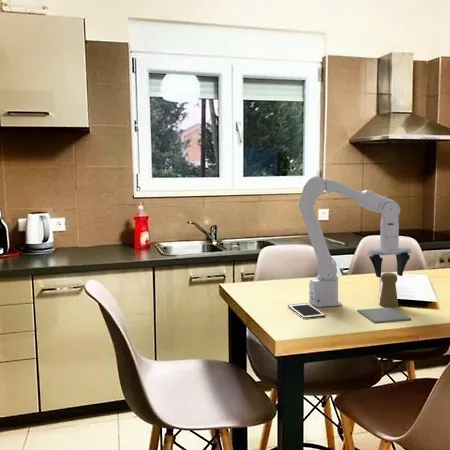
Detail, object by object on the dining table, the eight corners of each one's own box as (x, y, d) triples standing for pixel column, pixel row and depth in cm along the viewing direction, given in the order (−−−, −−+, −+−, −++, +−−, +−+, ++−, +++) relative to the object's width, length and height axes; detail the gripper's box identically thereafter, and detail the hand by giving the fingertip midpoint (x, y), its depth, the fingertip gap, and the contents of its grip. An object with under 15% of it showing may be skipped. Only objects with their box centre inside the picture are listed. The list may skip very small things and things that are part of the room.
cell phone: (308, 305, 164) (308, 302, 164) (326, 318, 150) (326, 315, 150) (287, 307, 163) (286, 304, 163) (303, 320, 148) (303, 317, 148)
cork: (383, 301, 165) (383, 270, 163) (400, 304, 161) (401, 272, 160) (376, 305, 160) (376, 273, 159) (394, 308, 156) (394, 276, 155)
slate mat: (373, 323, 143) (374, 321, 143) (357, 311, 155) (357, 309, 155) (411, 319, 145) (411, 318, 144) (391, 308, 156) (391, 307, 156)
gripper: (374, 238, 153) (374, 280, 154) (416, 236, 155) (415, 277, 156) (364, 235, 160) (364, 275, 161) (405, 233, 162) (404, 272, 163)
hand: (389, 276), depth 159 cm, fingers open, 7 cm apart
